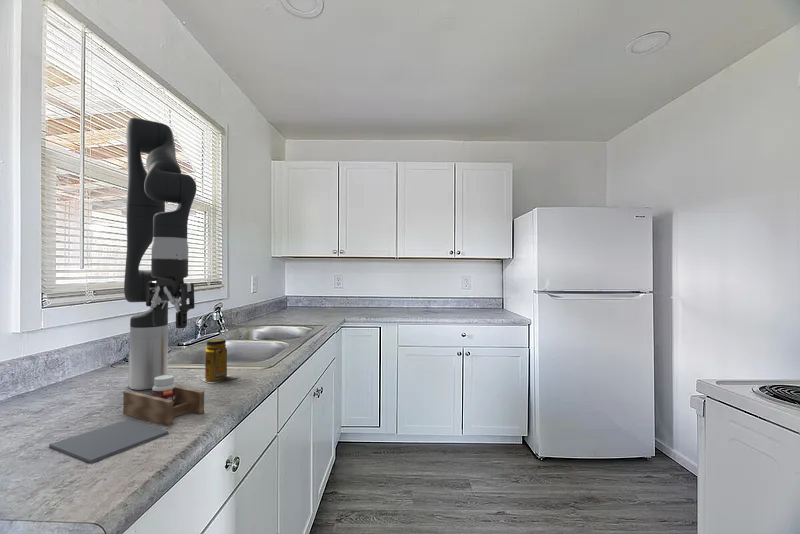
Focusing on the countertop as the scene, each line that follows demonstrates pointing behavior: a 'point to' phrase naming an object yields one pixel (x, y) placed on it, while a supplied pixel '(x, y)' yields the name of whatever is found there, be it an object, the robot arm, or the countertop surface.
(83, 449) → the mat
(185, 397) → the wooden rack
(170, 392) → the pill bottle
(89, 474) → the countertop surface
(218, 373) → the condiment
